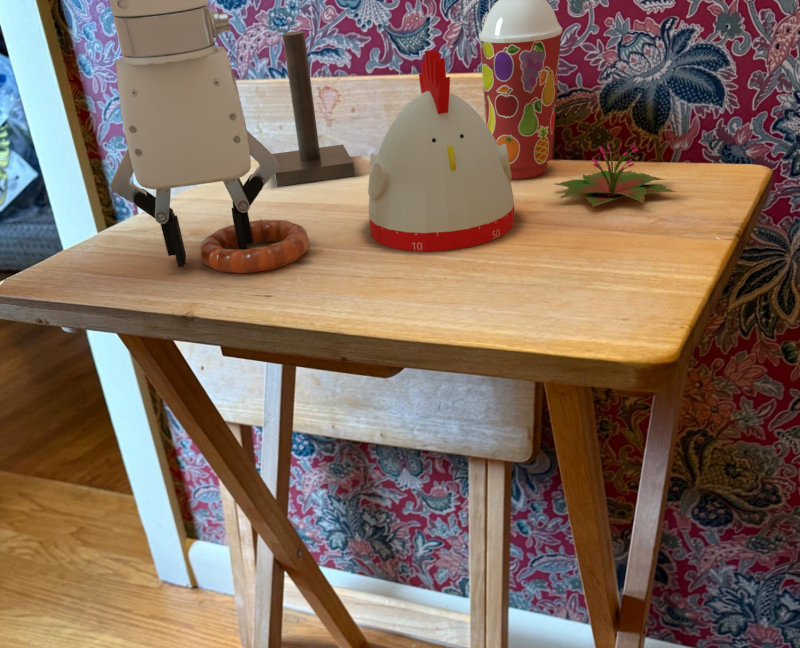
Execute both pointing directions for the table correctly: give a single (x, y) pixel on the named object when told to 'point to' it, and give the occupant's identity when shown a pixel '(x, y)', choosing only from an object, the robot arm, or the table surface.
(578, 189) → the lily flower
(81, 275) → the table surface
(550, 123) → the smoothie
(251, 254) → the ring
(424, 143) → the kitchen timer
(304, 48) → the peg stand
